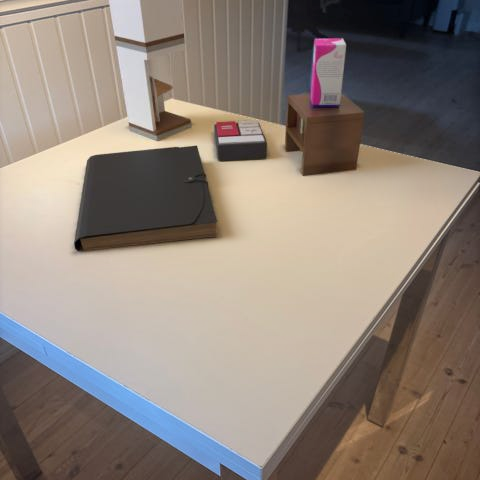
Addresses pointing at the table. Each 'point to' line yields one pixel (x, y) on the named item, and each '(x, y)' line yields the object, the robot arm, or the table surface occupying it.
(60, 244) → the table surface
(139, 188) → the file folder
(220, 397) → the table surface
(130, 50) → the white tower
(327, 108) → the shelf
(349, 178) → the table surface
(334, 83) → the supplement box
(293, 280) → the table surface
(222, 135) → the dark grey flat box
